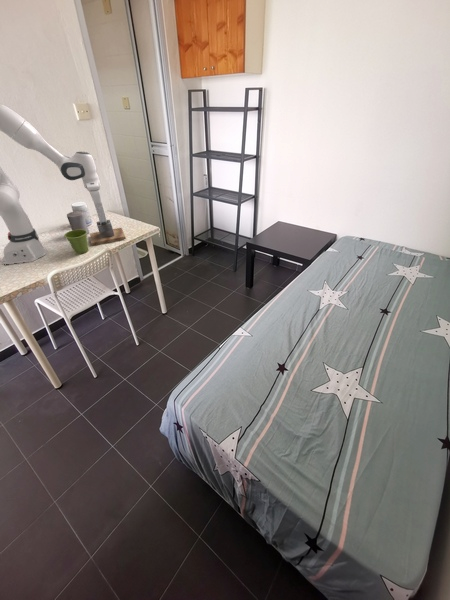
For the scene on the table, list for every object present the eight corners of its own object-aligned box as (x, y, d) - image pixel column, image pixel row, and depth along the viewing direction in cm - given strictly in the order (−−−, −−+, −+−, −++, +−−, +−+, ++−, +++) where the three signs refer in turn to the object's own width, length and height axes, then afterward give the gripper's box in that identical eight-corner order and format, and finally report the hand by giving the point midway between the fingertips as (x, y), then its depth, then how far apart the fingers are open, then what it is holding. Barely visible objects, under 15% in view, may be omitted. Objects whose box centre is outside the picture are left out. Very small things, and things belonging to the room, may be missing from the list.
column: (102, 233, 175) (92, 199, 163) (101, 230, 179) (91, 197, 166) (110, 231, 177) (100, 197, 164) (109, 229, 180) (99, 195, 168)
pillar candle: (73, 233, 188) (64, 211, 179) (88, 229, 192) (81, 208, 183) (74, 238, 182) (66, 215, 172) (90, 234, 185) (83, 212, 176)
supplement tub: (75, 225, 200) (68, 204, 191) (87, 221, 206) (81, 200, 197) (82, 228, 195) (75, 207, 186) (95, 224, 201) (88, 203, 192)
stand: (92, 246, 171) (86, 229, 165) (90, 236, 183) (85, 220, 177) (126, 239, 178) (121, 223, 172) (122, 230, 190) (118, 215, 183)
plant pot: (69, 257, 160) (61, 238, 154) (73, 248, 170) (67, 230, 163) (91, 254, 162) (84, 236, 155) (94, 246, 171) (88, 228, 165)
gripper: (85, 180, 167) (92, 203, 176) (87, 188, 152) (94, 213, 161) (96, 178, 169) (102, 202, 178) (99, 186, 154) (106, 211, 163)
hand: (99, 207), depth 169 cm, fingers closed on column, 4 cm apart
